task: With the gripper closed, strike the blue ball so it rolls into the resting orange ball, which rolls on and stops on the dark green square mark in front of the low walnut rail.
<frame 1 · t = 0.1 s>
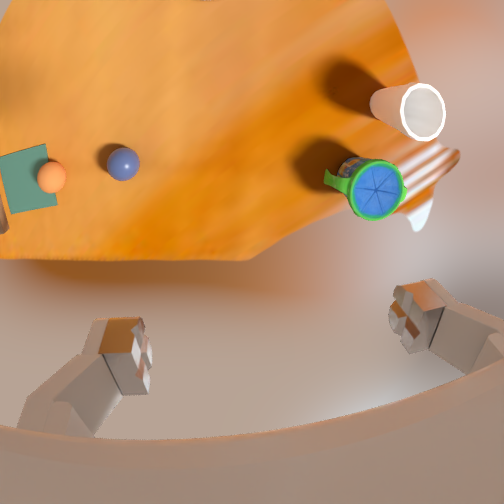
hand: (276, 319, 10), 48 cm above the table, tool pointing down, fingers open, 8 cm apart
snack cup: (353, 175, 59), on the table
orange ball: (51, 177, 48), on the table
blue ball: (123, 164, 49), on the table
foam cup: (383, 105, 53), on the table
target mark: (26, 180, 49), on the table
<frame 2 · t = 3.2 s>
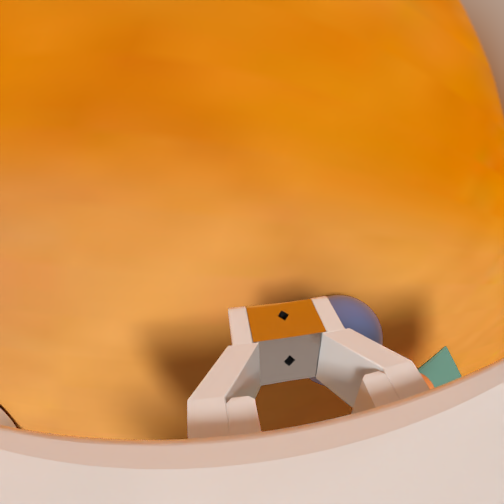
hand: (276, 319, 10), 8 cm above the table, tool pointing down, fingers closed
blue ball: (337, 341, 19), on the table
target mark: (415, 398, 31), on the table
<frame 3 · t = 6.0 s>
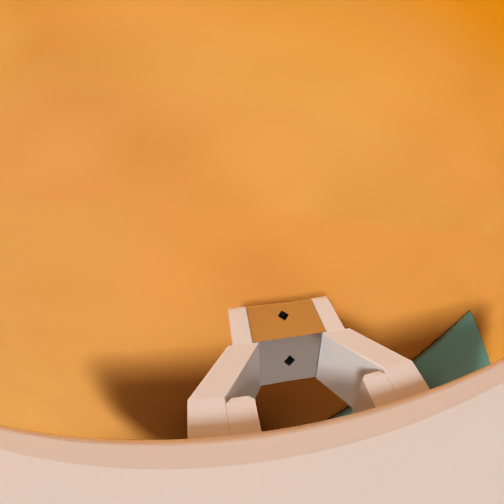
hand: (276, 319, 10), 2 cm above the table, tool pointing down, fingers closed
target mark: (417, 409, 18), on the table
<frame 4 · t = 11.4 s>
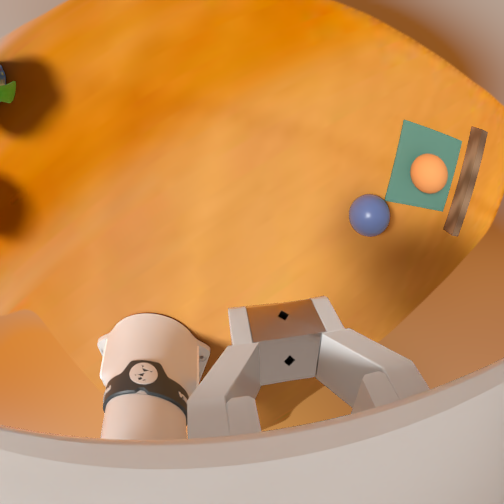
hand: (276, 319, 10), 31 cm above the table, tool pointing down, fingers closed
orange ball: (429, 173, 39), on the table
blue ball: (369, 215, 41), on the table
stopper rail: (462, 179, 43), on the table
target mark: (425, 168, 42), on the table
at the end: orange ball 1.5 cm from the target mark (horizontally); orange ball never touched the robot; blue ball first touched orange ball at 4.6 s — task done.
